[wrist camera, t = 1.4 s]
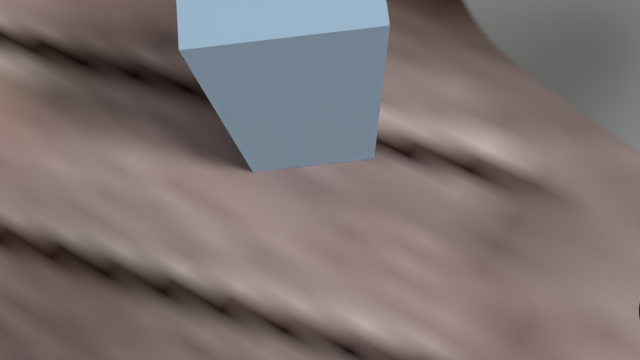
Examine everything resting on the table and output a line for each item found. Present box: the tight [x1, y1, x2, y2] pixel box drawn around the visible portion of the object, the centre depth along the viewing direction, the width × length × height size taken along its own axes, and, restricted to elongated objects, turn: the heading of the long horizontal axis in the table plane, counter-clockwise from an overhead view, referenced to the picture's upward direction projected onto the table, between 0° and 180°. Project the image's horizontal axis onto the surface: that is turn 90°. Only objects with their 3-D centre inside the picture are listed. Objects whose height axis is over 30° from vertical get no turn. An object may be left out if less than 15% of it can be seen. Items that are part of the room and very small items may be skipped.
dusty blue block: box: [176, 0, 390, 172], centre depth 18 cm, size 4×4×10 cm
